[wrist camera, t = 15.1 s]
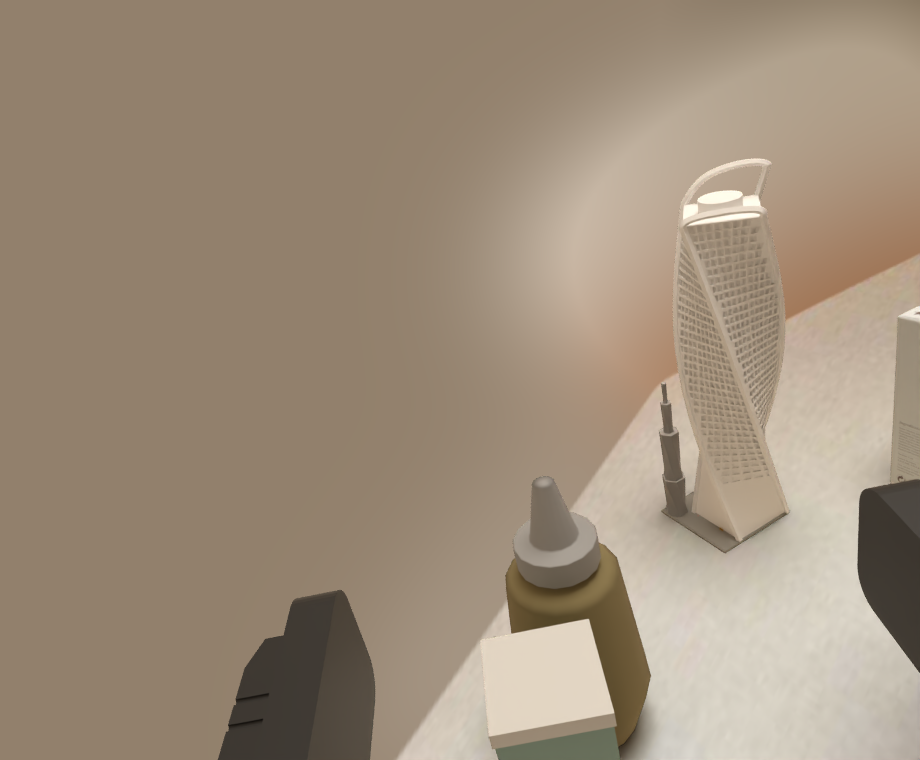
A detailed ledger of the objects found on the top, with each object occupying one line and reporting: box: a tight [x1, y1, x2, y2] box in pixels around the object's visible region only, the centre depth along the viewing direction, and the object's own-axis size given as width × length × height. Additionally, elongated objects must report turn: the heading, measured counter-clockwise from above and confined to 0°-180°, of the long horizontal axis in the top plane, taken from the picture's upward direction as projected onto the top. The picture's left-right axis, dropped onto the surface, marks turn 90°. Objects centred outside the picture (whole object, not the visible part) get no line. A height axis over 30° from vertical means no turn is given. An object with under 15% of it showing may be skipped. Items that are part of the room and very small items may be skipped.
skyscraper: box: [659, 159, 789, 553], centre depth 53 cm, size 8×8×28 cm
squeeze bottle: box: [506, 476, 651, 747], centre depth 42 cm, size 8×8×18 cm
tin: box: [480, 619, 620, 760], centre depth 34 cm, size 5×5×11 cm
